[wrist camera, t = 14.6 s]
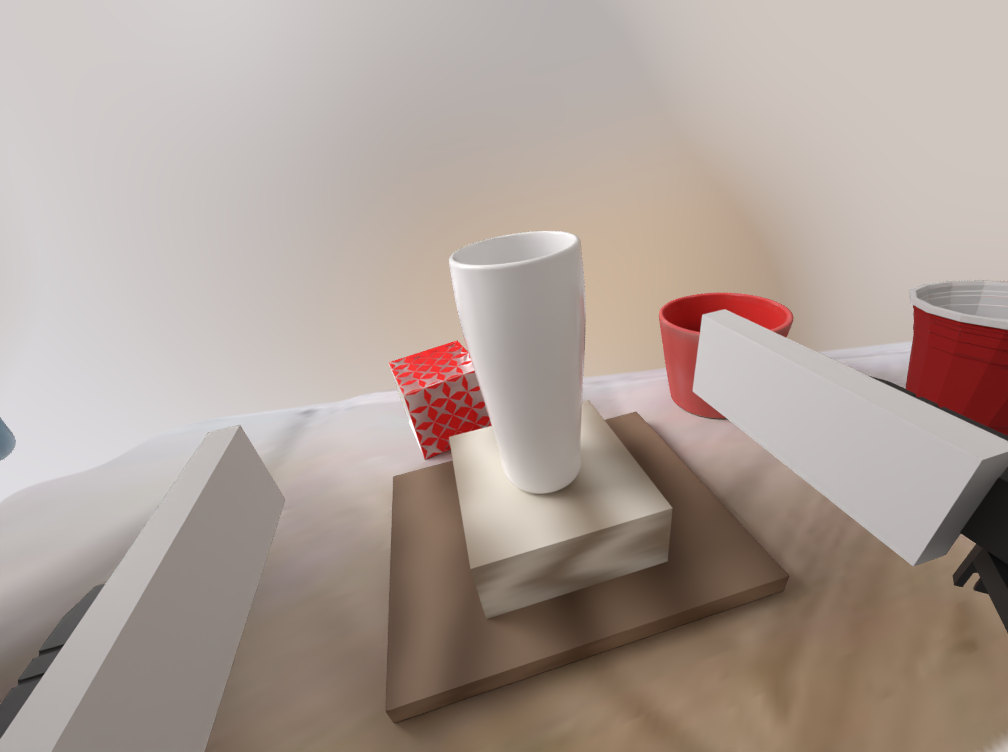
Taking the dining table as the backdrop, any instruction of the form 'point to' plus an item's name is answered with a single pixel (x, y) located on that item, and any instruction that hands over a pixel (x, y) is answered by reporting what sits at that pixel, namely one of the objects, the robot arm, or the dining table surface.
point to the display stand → (553, 562)
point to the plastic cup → (962, 349)
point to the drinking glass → (527, 349)
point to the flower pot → (684, 332)
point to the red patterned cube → (440, 396)
